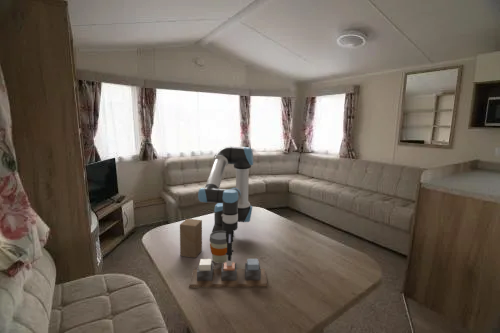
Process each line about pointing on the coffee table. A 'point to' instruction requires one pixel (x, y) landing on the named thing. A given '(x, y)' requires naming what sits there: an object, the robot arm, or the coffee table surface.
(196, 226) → the wooden block
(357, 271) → the coffee table surface
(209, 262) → the cream button
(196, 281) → the console
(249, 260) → the slate button
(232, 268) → the terracotta button
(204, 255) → the coffee table surface
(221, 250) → the reusable coffee cup
